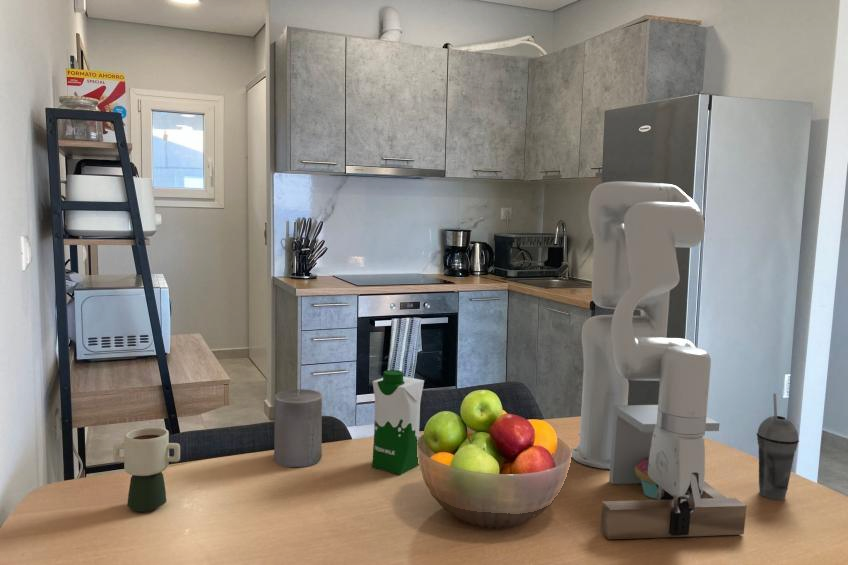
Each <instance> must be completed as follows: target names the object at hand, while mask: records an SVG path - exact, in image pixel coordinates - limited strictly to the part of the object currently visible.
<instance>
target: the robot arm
mask: <svg viewBox="0 0 848 565" xmlns="http://www.w3.org/2000/svg"><path fill="white" fill-rule="evenodd" d="M588 219H589V224H590V229H591V232H592V238H593V256H592V257H593V258H592V260H593V261H592V274H591V276H592V277H591V298H592V301H593V303H594V304H595V305H596V306H597V307H600V308H603V309H611V310H614V311H613V314H599V315H594V316H591V317H590V318H588V319H586V320H585V322H584V323H583V325H582V328H581V346H582V355H583V356H582V358H583V374H582V379H583V381H582V392H581V393H582V395H581V407H580V408H581V409H580V410H581V411H580V423H579V424H580V425H579V433H578V436H579V443H578V445H576V446H574V447H573V448H572V449H571V451H572V456H571V458H572V459H573V460H575V461H576V462H577V463H579V464H582V465H585V466H588V467H592V468H596V469H604V470H610V463H611V448H612V433H613V418H614V405H629V404H628V402H629V399H628V398H629V388H630V387H629V386H630V384H629V381H630V380H631V381H644V382H645V381H646V382H649V381H650V382H651V381H653V382H654V381H656V382H657V381H658V382H659V389H658V400H657V401H658V403H657V405H658V412H657V423H656V426H655V429H654V432H653V437H652V442H651V448H650V455H649V464H648V475H649V477H650V478H651V479H652V480H653V481H654V482H655V483H656V485H657V488H658V491H657V498H658V499H657V500H670V499H674V511H671V517H670V530H669V533H670V534H671V535H672V536H678V535H688V534H689V525H690V513H692V512H693V509H695V508H699V507H701V506H702V503H701V498H700V496H701V495H702V492H703V487H704V481H705V477H706V476H705V474H706V450H705V449H706V448H705V437H704V436H705V434H706V431H705V427H706V416H707V413H708V412H707V411H708V404H709V402H708V400H709V392H710V391H709V390H710V381H711V380H710V379H711V378H710V377H711V366H712V358H711V355H710V353H709V352H707V351H706V350H704V349H702V348H699V347H697V346H696V345H695V344H694V342H692V341H691V340H689V339H686V338H681V337H667V333H668V322H669V321H668V320H669V311H670V310H669V308H670V307H669V306H670V291H671V290H673V289H674V288H675V287H677V285H678V284H679V283H680V272H679V265H678V264H679V263H678V259H677V250H676V248H686V249H687V248H689V249H691V248H694V247H697V246H698V245H700V243H701V242H702V240H703V238H704V236H705V230H706V228H705V226H706V224H705V218H704V215H703V212H702V211H701V209H700V207H699V206H698V205H697V203H696V202H695V201H694V200H693V199H692V198H691V197H690V196H689V195H687V194H686V193H685V192H684V191H683V190H682V189H681V188H680V187H678V186H677V185H674V184H670V183H661V182H659V183H658V182H643V181H642V182H641V181H639V182H638V181H621V180H620V181H619V180H618V181H617V180H616V181H608V182H602V183H600V184H597V185H596V186H595V187H594V188H593V190H592V191H591V193H590V196H589V201H588ZM636 310H637V311H640V315H634V312H635V311H636ZM686 491H687V492H686ZM685 498H686V501H683V502H682V503H681V499H685Z"/></svg>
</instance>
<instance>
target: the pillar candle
mask: <svg viewBox="0 0 848 565" xmlns="http://www.w3.org/2000/svg"><path fill="white" fill-rule="evenodd" d="M322 402H323V394H322V393H321V392H319V391H316V390H313V389H301V388H299V389H287V390H282V391H280V392H277V393H276V394H275V395H274V434H273V435H274V443H273V445H274V450H273V455H274V456H273V459H274V462H275V464H277V465H279V466H281V467H284V468H297V467H298V468H301V467H302V468H307V467H312V466H314V465H316V464H318V463H320V461H321V460H322V457H323V450H322V445H323V444H322V442H323V439H322V437H323V436H322V429H323V428H322V424H323V422H322V421H323V420H322V419H323V416H322V414H323V413H322V412H323V403H322Z"/></svg>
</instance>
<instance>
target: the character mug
mask: <svg viewBox="0 0 848 565" xmlns="http://www.w3.org/2000/svg"><path fill="white" fill-rule="evenodd" d="M169 437H170V433H169V430H168V429H166V428H164V427H158V426H147V427H141V428H135V429H131V430H129V431H127V432H126V433H124V437H123V442H121V443H120V442H119V443H114V444H113V447H112V448H113V449H112V450H113V451H112V452H113V453H112V454H113V456H112V457H113V462H115V463H124V464H123V465H124V466H123V467H124V470H125V472H126V474H128V475H131V477H130V482H129V490H128V495H127V496H128V497H127V505H126V506H127V507H128V508H129V509H130V510H132V511H136V512H148V511H151V510H155V509H157V508H160V507H161V506H163V505H165V503H167V491H166V483H165V477H164V474H163V472H164V471H165V470H167V468H168V466H169V463H177V462H179V461H180V460H181V444H180V443H177V442H169V440H170V438H169ZM172 449H173V454H174V455H173V456H170V450H172ZM120 450H123V456H120Z"/></svg>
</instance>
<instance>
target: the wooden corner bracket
mask: <svg viewBox="0 0 848 565" xmlns="http://www.w3.org/2000/svg"><path fill="white" fill-rule="evenodd" d="M686 492H687V491H686ZM700 498H701V503H702V506H701V507H699V508H695V509H693V512H692V513H690V525H689V534H688V535H678V536H672V535H671V534H670V533H669V530H670V517H671V511H674V499H670V500H659V499H642V500H641V499H640V500H638V499H637V500H615V501H614V500H610V501H609V500H606V501H604V500H603V501H602V504H601V517H600V532H602V534H603V535H604V536H605V537H606V539H607V540H629V539H650V538H651V539H652V538H676V537H677V538H679V537H681V538H682V537H705V536H707V537H708V536H734V535H744V534H745V526H746V525H745V524H746V516H747V515H746V514H747V505H746V504H745V503H743V502H742V501H741V500H739V499H738V498H736V497H727V496H726V495H724V494H722V493H721V492H720V491H718V490H717V489H715V488H714V487H713V486H712V485H710V484H708V483H707V482H706V481H705V480H704V487H703V492H702V495H701V496H700ZM683 501H686V498H681V503H682V502H683Z"/></svg>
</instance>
